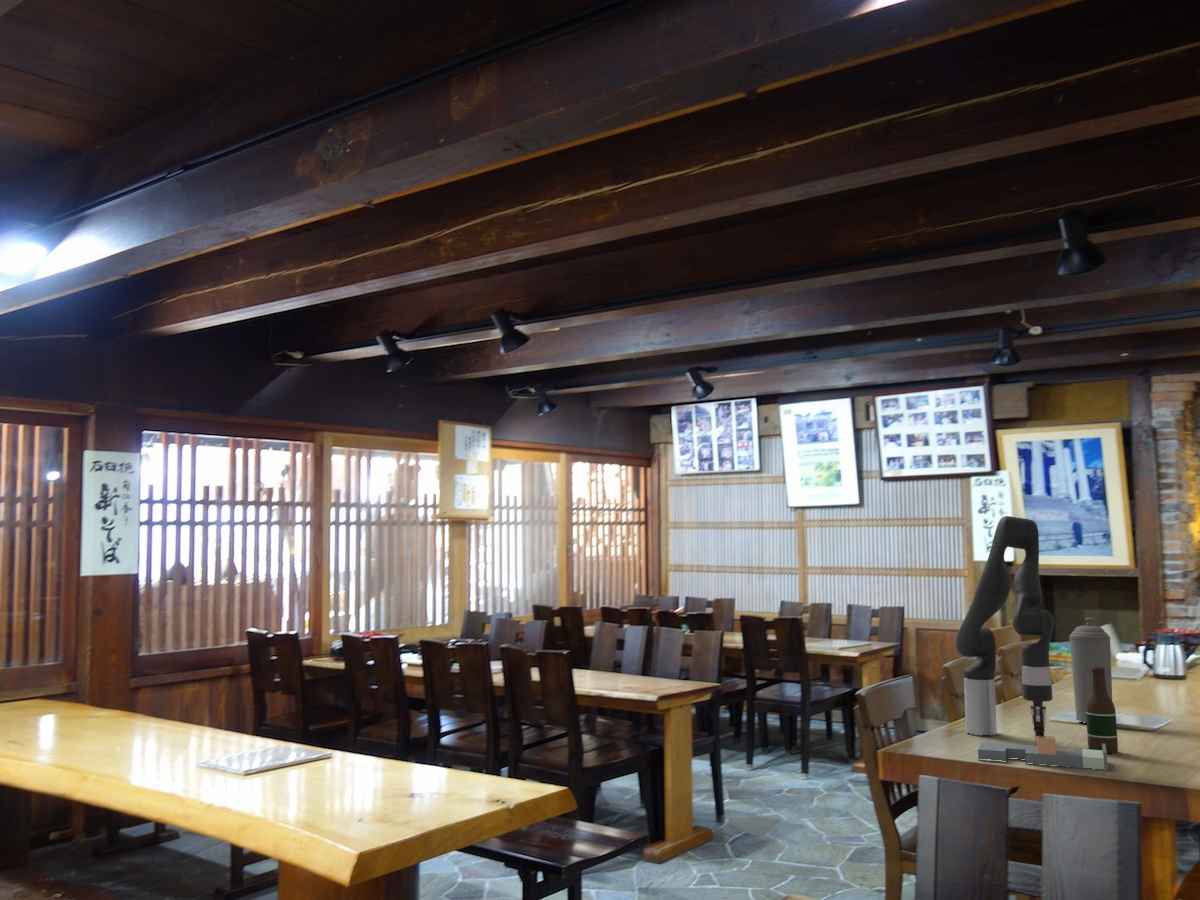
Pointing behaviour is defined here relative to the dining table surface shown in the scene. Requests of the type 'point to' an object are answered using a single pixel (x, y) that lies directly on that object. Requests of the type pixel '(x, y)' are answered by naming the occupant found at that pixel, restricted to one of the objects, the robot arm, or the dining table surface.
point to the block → (1046, 745)
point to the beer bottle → (1101, 715)
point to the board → (1045, 755)
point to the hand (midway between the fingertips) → (1040, 746)
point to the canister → (1088, 662)
